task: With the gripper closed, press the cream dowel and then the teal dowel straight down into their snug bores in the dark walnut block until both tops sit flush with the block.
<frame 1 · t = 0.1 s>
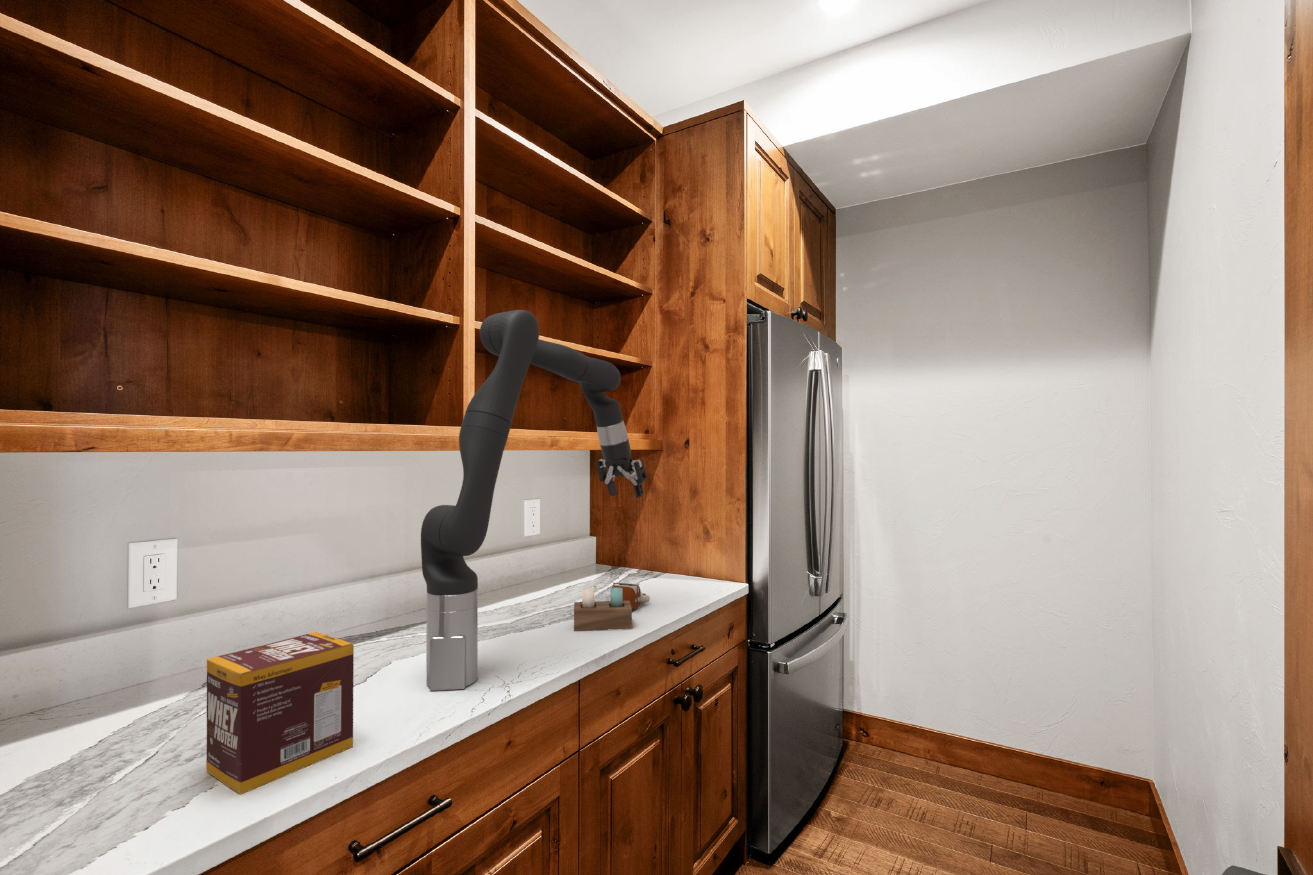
hand: (626, 496, 164), 31 cm above the worktop, tool tilted 20°, fingers open, 8 cm apart
supplement box: (282, 760, 87), on the worktop
peg teal: (616, 598, 153), point 7 cm above the worktop, slide at 4.0 cm
peg cream: (588, 599, 152), point 7 cm above the worktop, slide at 4.0 cm
toy: (631, 607, 172), on the worktop
socket block: (602, 625, 153), on the worktop
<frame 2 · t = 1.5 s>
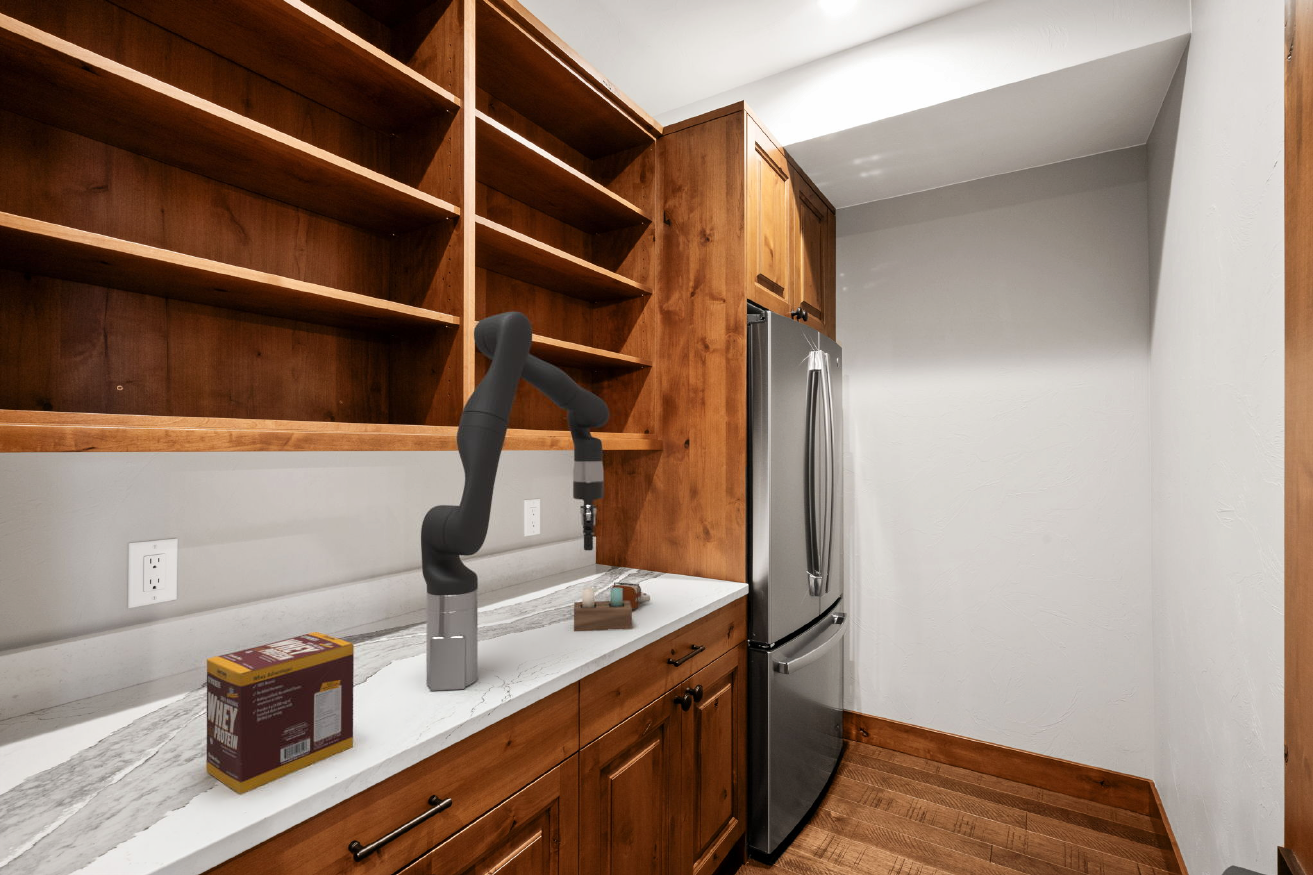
hand: (588, 549, 153), 19 cm above the worktop, tool pointing down, fingers closed
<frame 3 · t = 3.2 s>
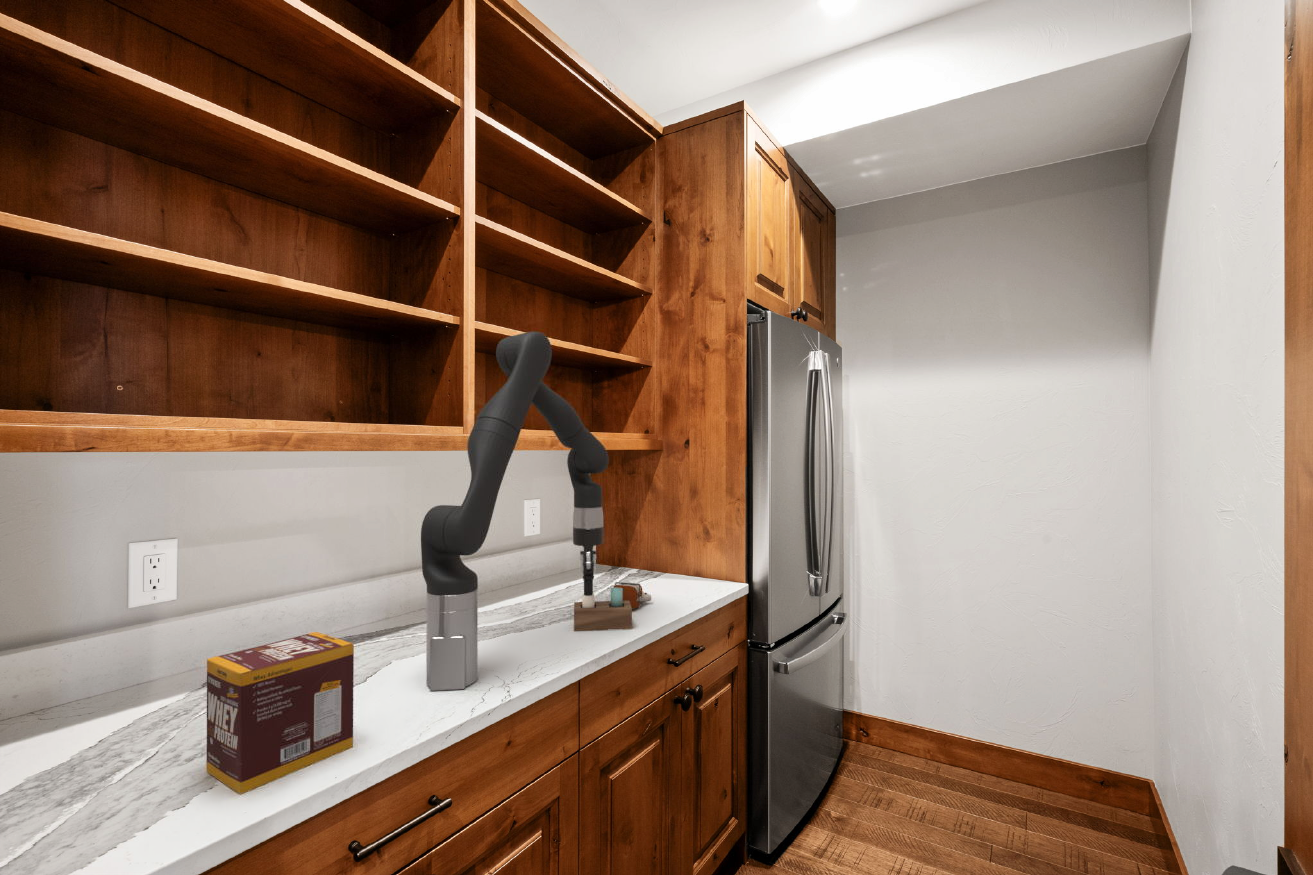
hand: (588, 594, 153), 8 cm above the worktop, tool pointing down, fingers closed
peg cream: (588, 605, 152), point 5 cm above the worktop, slide at 2.6 cm, touching gripper
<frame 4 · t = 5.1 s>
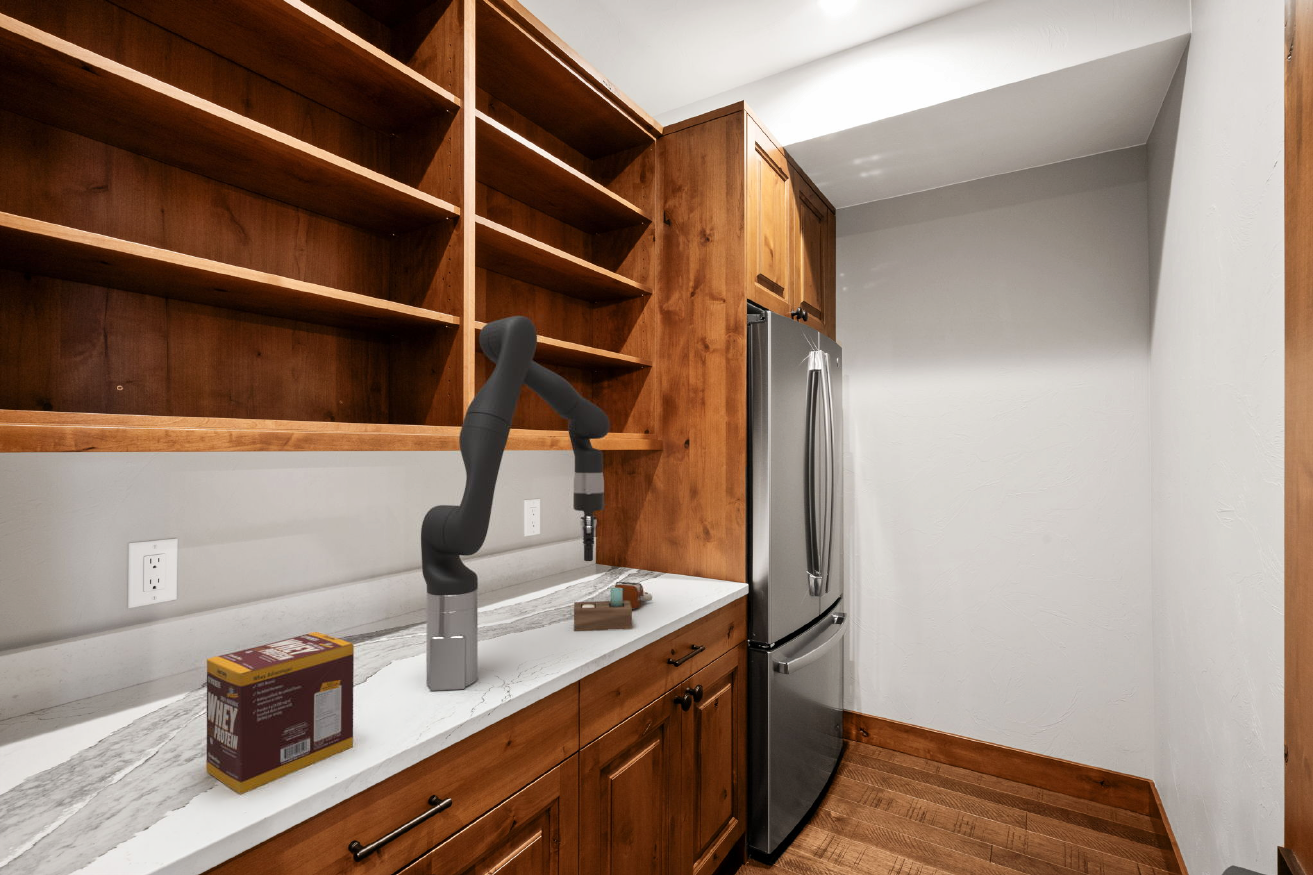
hand: (588, 560, 153), 16 cm above the worktop, tool pointing down, fingers closed
peg cream: (588, 615, 152), point 2 cm above the worktop, slide at 0.0 cm
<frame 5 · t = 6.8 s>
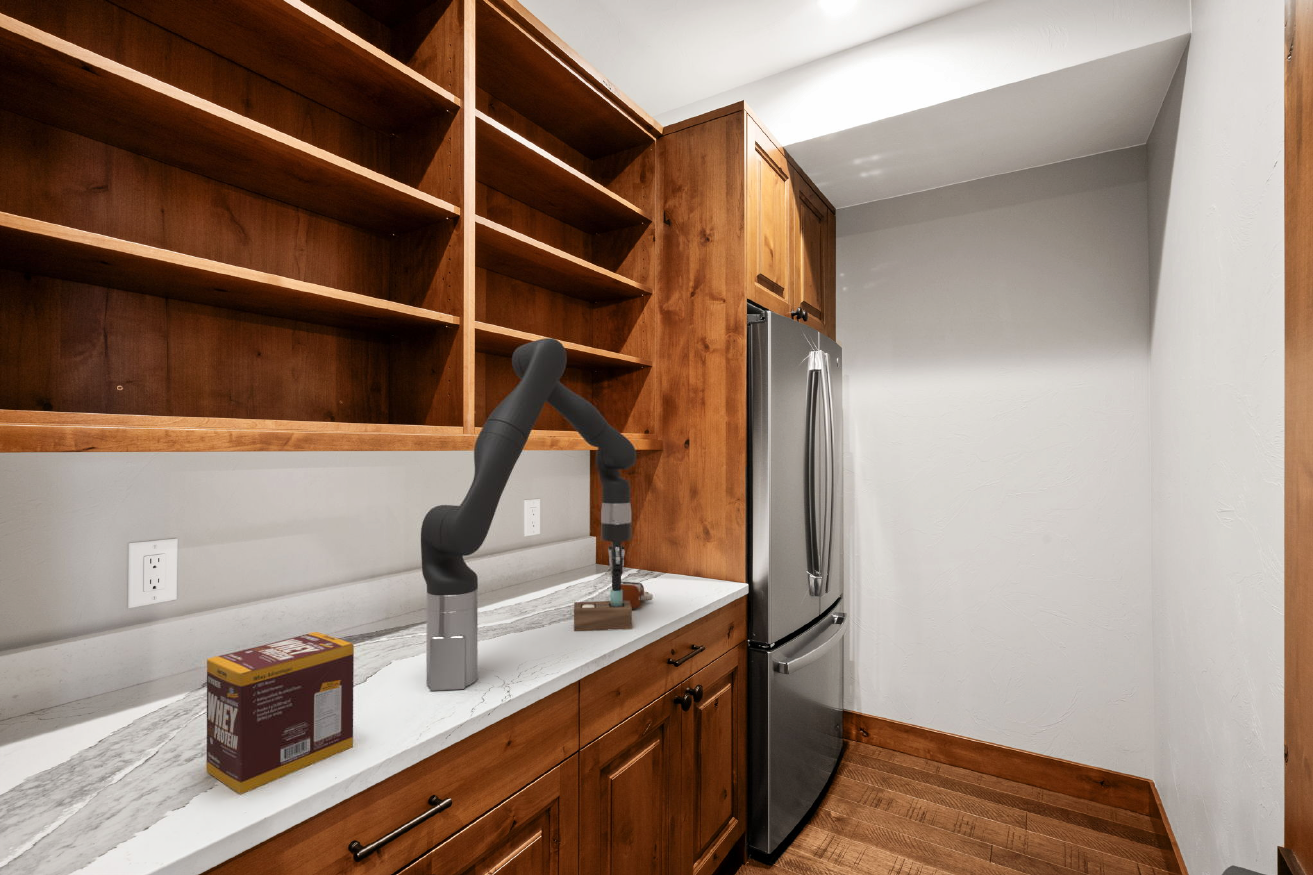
hand: (616, 590, 153), 9 cm above the worktop, tool pointing down, fingers closed
peg teal: (616, 600, 153), point 6 cm above the worktop, slide at 3.6 cm, touching gripper
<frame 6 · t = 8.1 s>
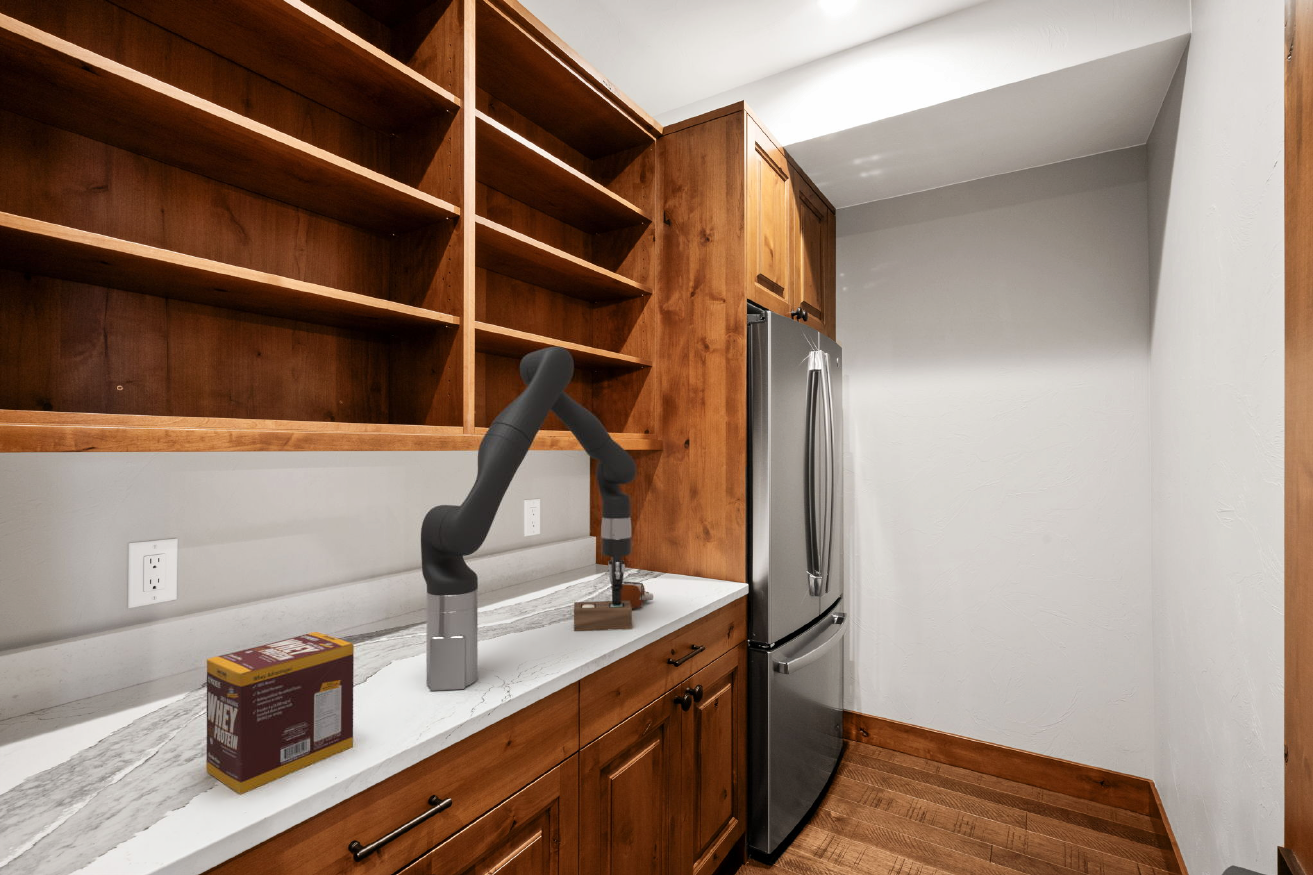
hand: (616, 604, 153), 5 cm above the worktop, tool pointing down, fingers closed
peg teal: (616, 614, 153), point 2 cm above the worktop, slide at 0.0 cm, touching gripper
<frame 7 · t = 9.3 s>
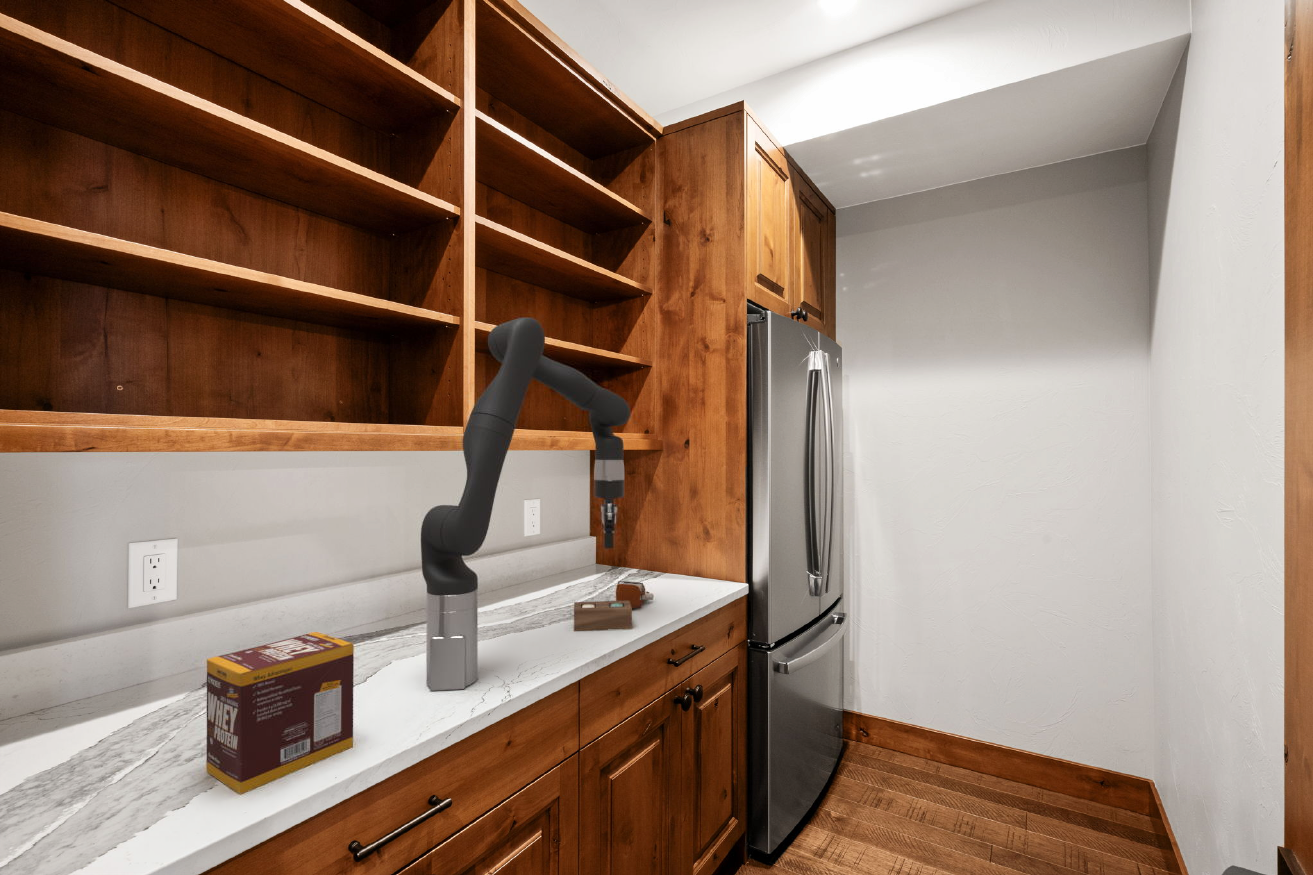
hand: (608, 548, 152), 19 cm above the worktop, tool pointing down, fingers closed
peg teal: (616, 614, 153), point 2 cm above the worktop, slide at 0.0 cm
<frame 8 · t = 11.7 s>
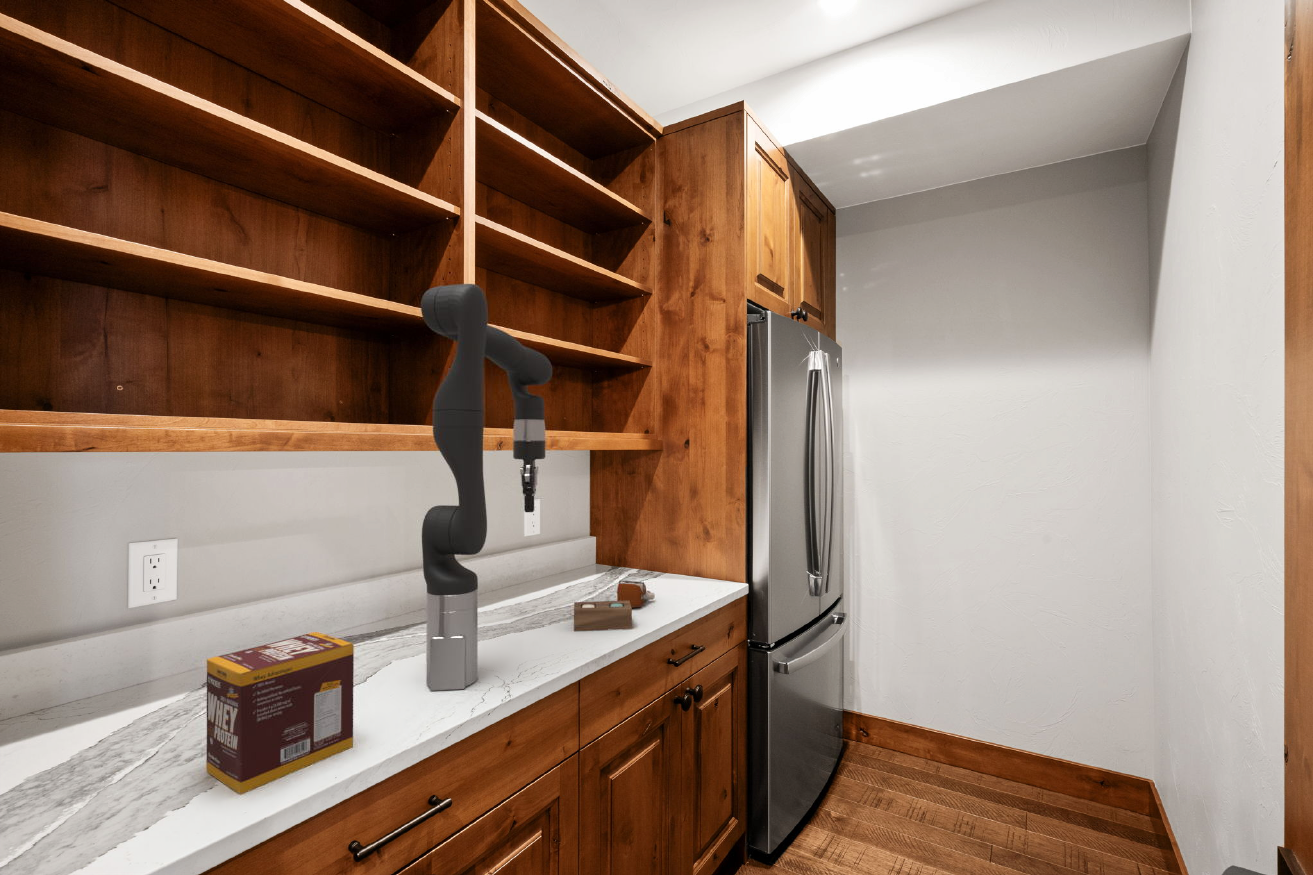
hand: (529, 511, 146), 29 cm above the worktop, tool pointing down, fingers closed
at the end: peg cream slide at 0.0 cm; peg teal slide at 0.0 cm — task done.
